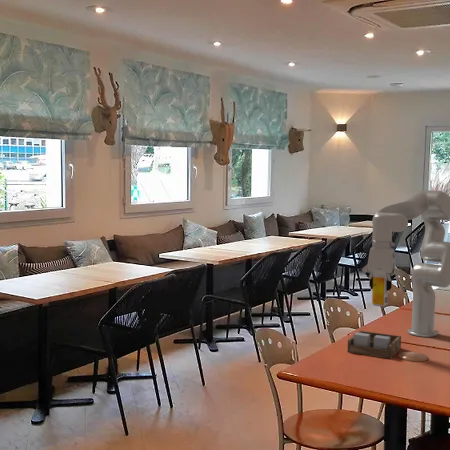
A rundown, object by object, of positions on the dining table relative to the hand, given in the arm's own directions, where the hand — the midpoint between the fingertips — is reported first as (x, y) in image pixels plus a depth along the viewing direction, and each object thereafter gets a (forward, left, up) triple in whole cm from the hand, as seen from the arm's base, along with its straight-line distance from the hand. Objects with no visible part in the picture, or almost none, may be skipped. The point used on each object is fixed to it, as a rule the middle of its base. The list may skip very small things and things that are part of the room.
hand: (380, 289), depth 251 cm
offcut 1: (+8, -5, -24) cm, 26 cm away
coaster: (+5, +15, -24) cm, 29 cm away
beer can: (0, 0, -7) cm, 7 cm away
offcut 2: (+8, +3, -24) cm, 26 cm away
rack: (+3, -1, -24) cm, 25 cm away
